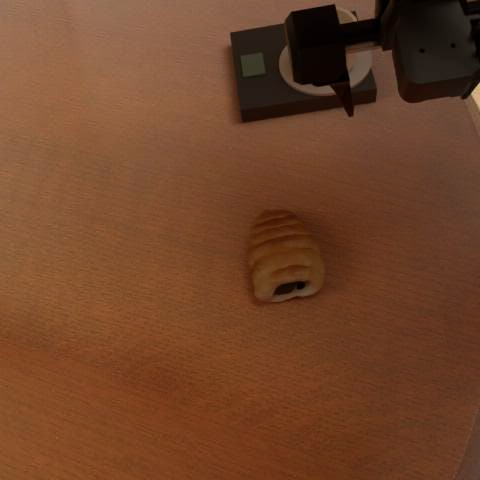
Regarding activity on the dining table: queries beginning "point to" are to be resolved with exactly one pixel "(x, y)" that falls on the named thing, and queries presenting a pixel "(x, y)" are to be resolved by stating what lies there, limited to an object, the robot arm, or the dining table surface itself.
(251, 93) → the scale
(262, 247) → the pastry
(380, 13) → the robot arm
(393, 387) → the dining table surface
